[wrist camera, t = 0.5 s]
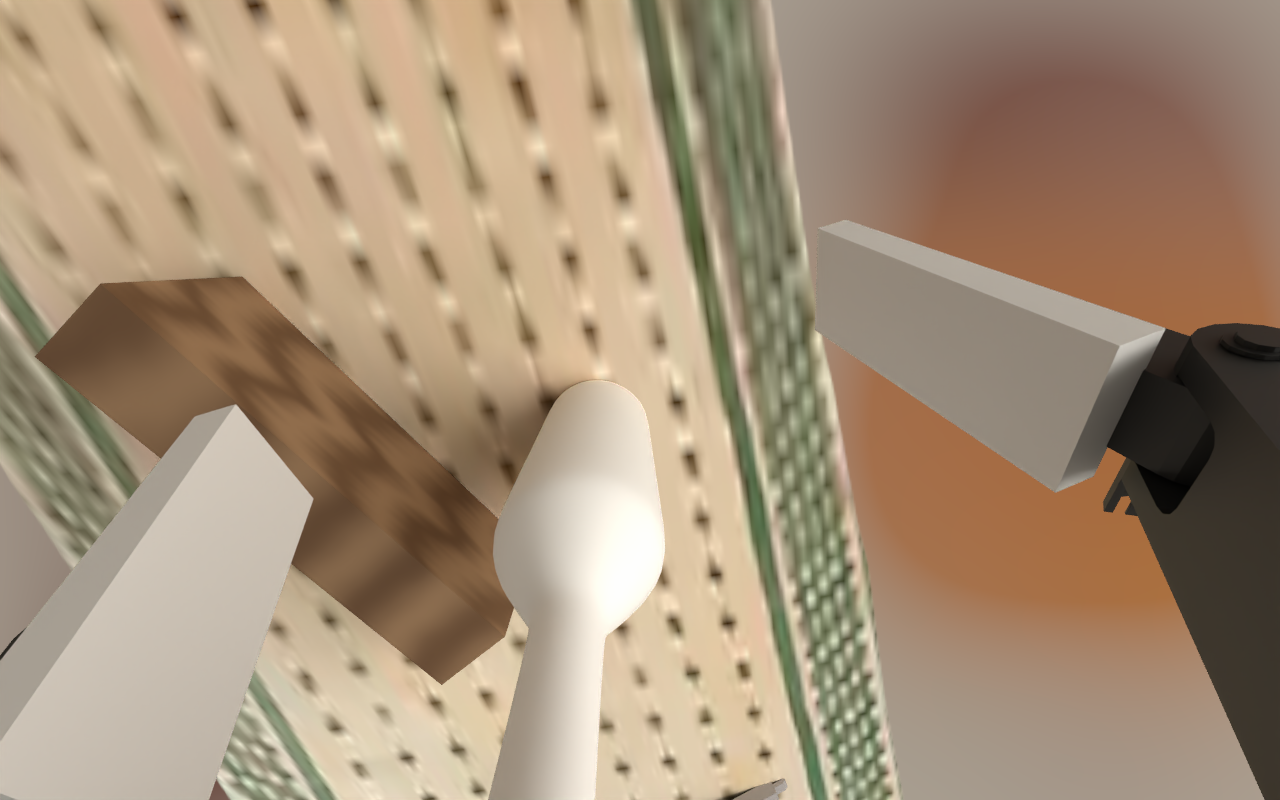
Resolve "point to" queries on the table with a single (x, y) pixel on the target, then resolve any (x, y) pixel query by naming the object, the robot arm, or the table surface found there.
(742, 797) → the caliper
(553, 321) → the table surface
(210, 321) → the wooden block
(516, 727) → the bottle
